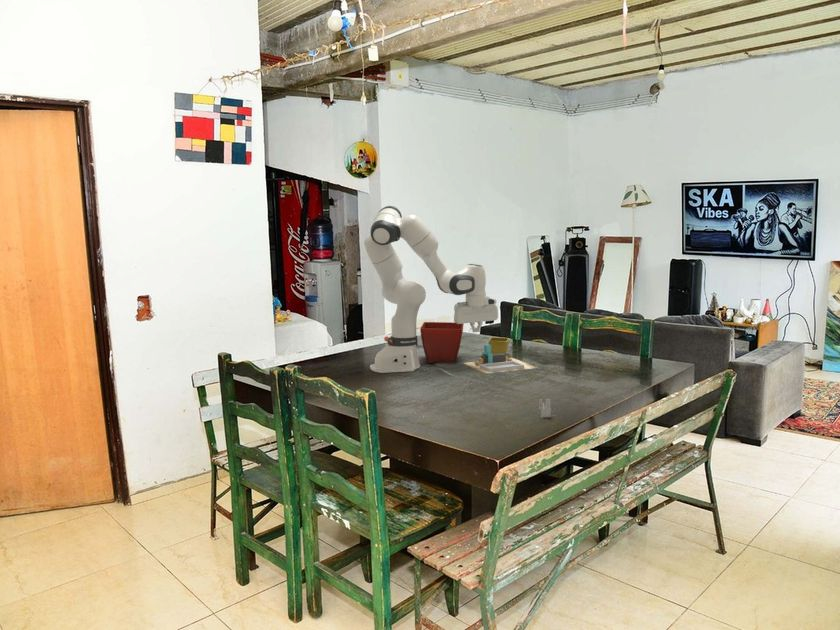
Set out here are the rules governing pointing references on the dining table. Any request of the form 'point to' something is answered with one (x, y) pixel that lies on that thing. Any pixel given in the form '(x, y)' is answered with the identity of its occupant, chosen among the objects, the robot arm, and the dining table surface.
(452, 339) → the plant pot
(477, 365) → the board
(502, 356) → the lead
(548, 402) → the architectural model
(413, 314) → the robot arm
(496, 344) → the flower pot
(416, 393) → the dining table surface
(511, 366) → the tray
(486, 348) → the teal stepped block
